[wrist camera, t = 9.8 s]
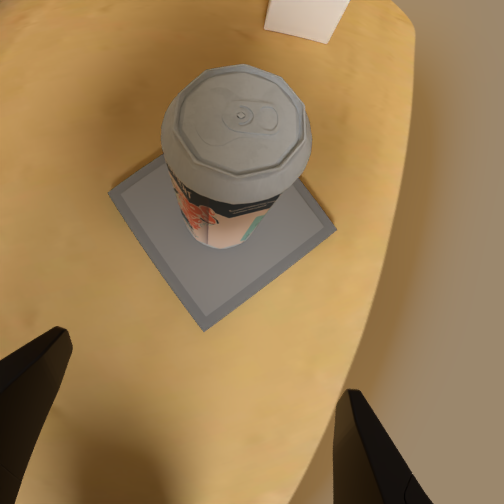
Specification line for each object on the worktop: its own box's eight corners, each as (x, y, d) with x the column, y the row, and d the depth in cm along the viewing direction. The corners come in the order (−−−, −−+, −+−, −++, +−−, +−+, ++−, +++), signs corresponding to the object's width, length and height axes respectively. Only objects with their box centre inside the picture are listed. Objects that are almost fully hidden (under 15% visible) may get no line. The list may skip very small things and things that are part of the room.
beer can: (186, 174, 20) (170, 51, 9) (259, 179, 21) (317, 64, 9) (180, 248, 20) (145, 189, 8) (257, 252, 20) (324, 201, 9)
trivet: (204, 330, 20) (203, 332, 19) (110, 196, 20) (106, 192, 20) (332, 231, 22) (337, 229, 21) (239, 112, 22) (240, 106, 21)
